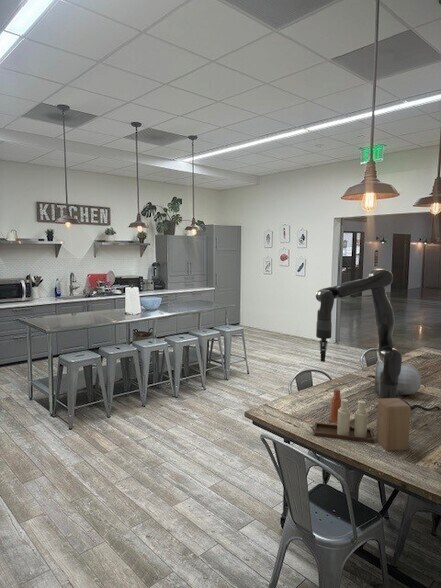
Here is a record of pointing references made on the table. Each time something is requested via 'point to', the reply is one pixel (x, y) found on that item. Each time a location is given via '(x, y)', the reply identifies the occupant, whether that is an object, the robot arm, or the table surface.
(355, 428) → the cream bottle
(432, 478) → the table surface
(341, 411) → the cream bottle
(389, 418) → the wooden block
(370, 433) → the tray
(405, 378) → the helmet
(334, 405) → the terracotta bottle
